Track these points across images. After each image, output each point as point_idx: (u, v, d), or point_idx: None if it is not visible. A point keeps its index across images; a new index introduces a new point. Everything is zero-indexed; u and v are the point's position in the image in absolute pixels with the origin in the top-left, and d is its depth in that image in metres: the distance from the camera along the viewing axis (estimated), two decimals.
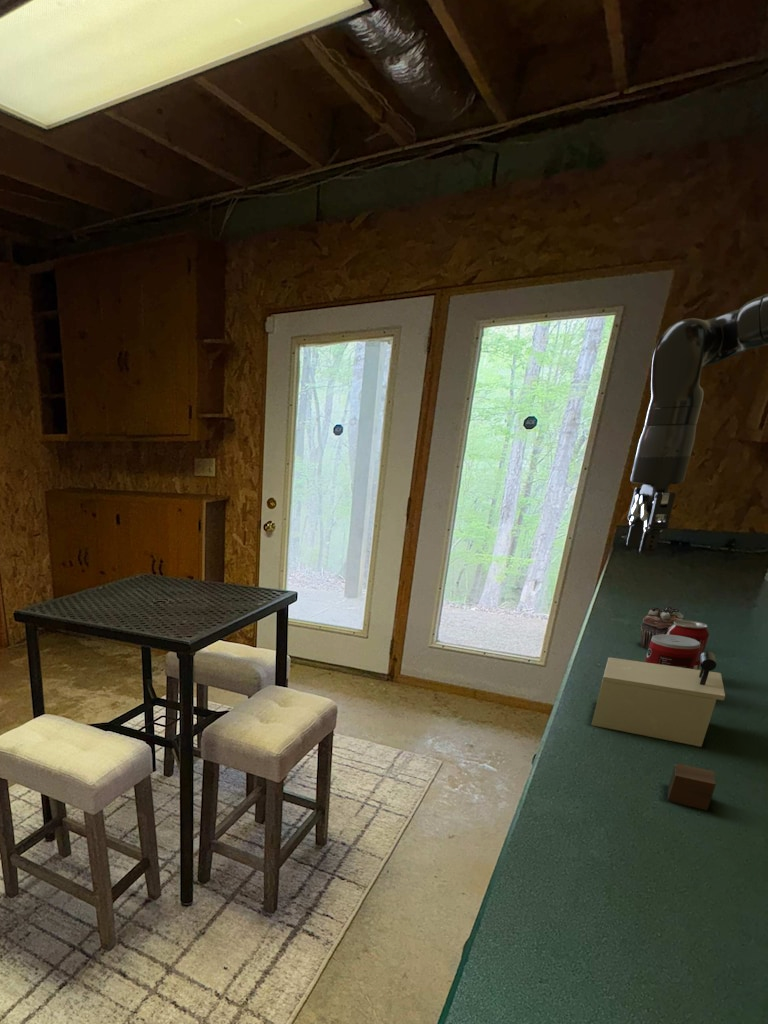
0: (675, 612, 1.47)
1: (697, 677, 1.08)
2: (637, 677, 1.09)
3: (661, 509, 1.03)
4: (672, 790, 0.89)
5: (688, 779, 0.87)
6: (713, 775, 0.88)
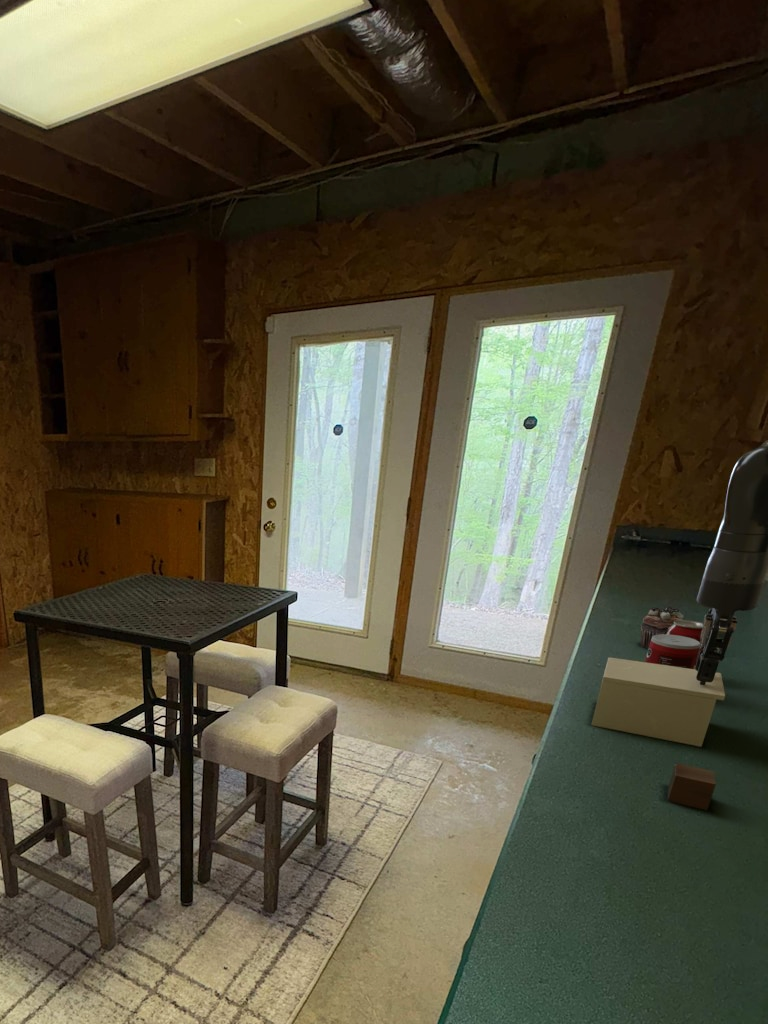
0: (675, 612, 1.47)
1: None
2: (637, 677, 1.09)
3: (716, 643, 0.99)
4: (672, 790, 0.89)
5: (688, 779, 0.87)
6: (713, 775, 0.88)
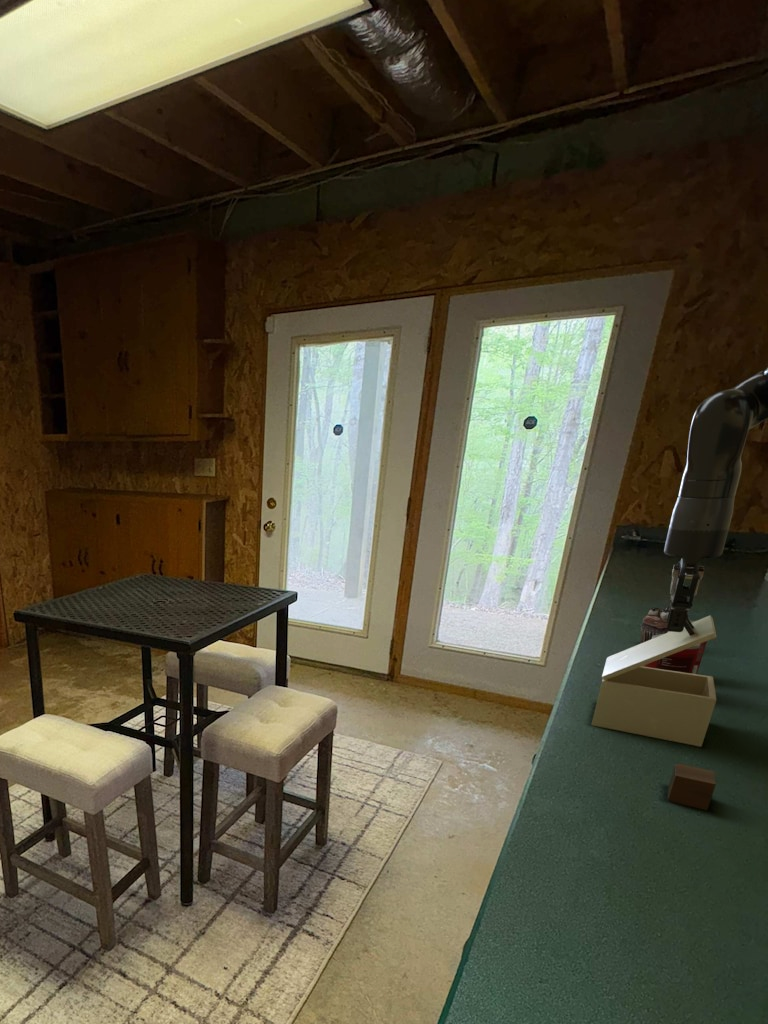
0: None
1: None
2: (632, 661, 1.08)
3: (683, 591, 0.99)
4: (672, 790, 0.89)
5: (688, 779, 0.87)
6: (713, 775, 0.88)
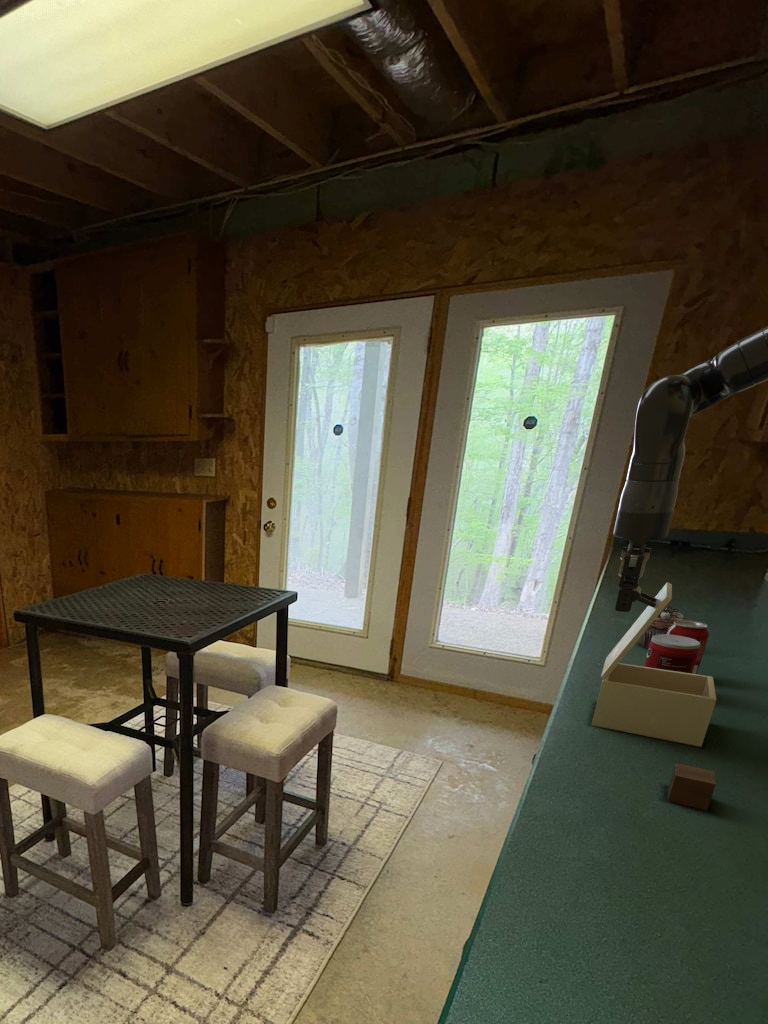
0: (675, 612, 1.47)
1: None
2: (619, 651, 1.09)
3: (629, 571, 1.03)
4: (672, 790, 0.89)
5: (688, 779, 0.87)
6: (713, 775, 0.88)
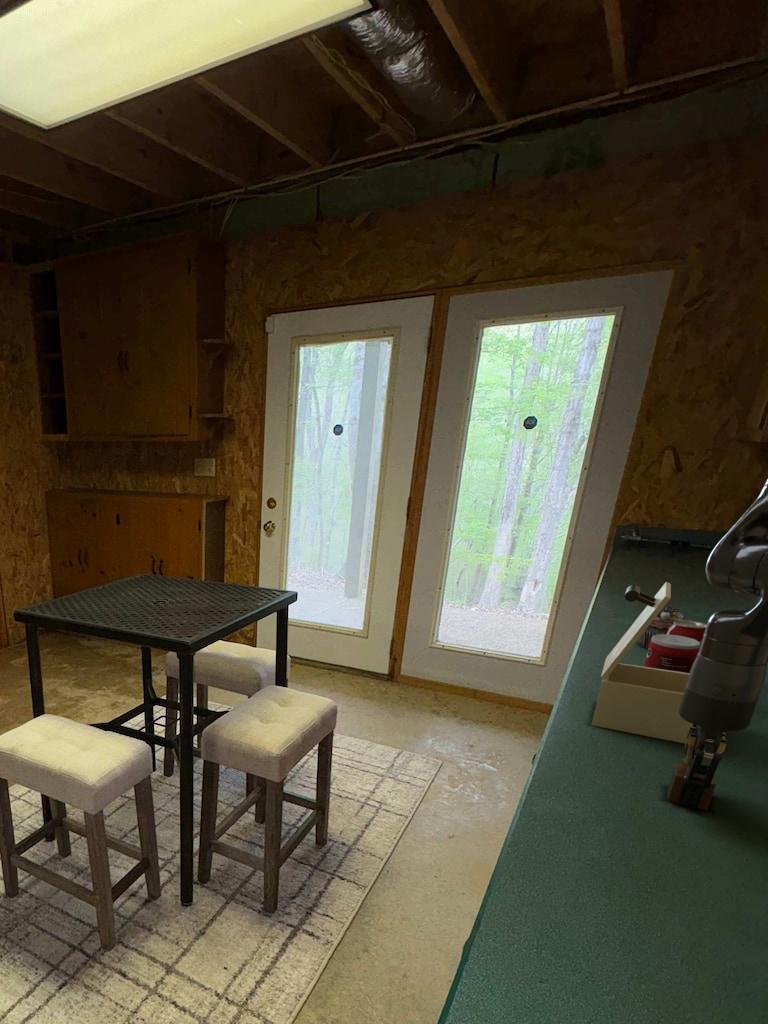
0: (675, 612, 1.47)
1: None
2: (619, 651, 1.09)
3: (701, 770, 0.83)
4: (672, 790, 0.89)
5: None
6: None
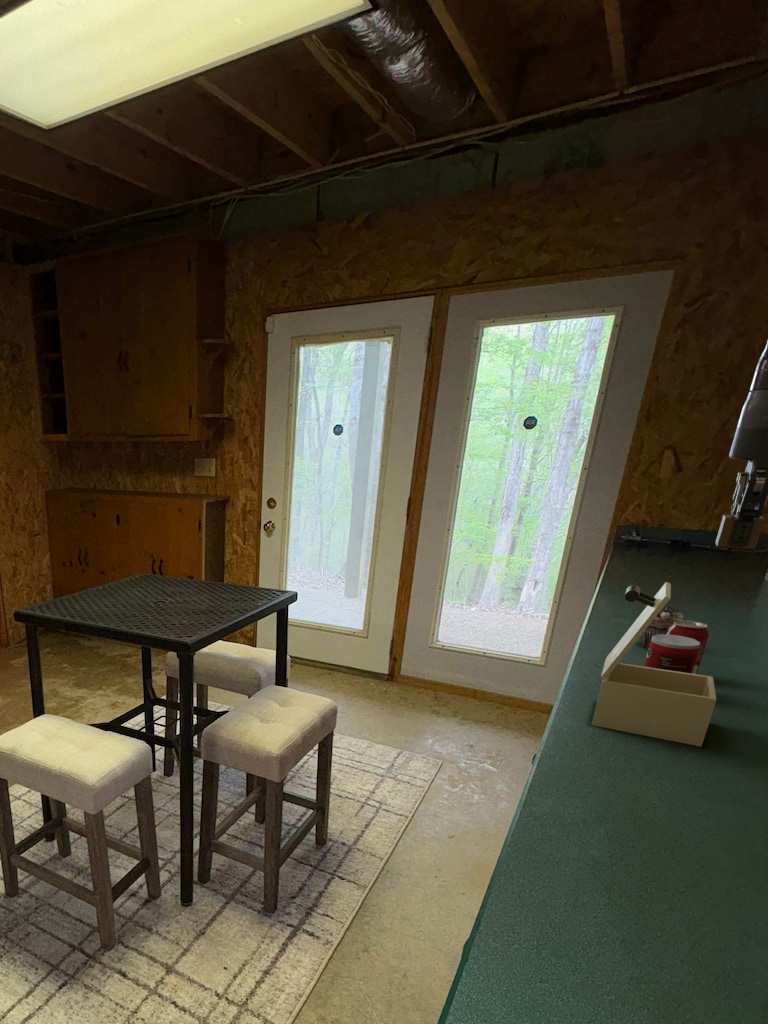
0: (675, 612, 1.47)
1: None
2: (619, 651, 1.09)
3: (753, 497, 0.89)
4: (722, 533, 0.95)
5: None
6: (760, 516, 0.94)
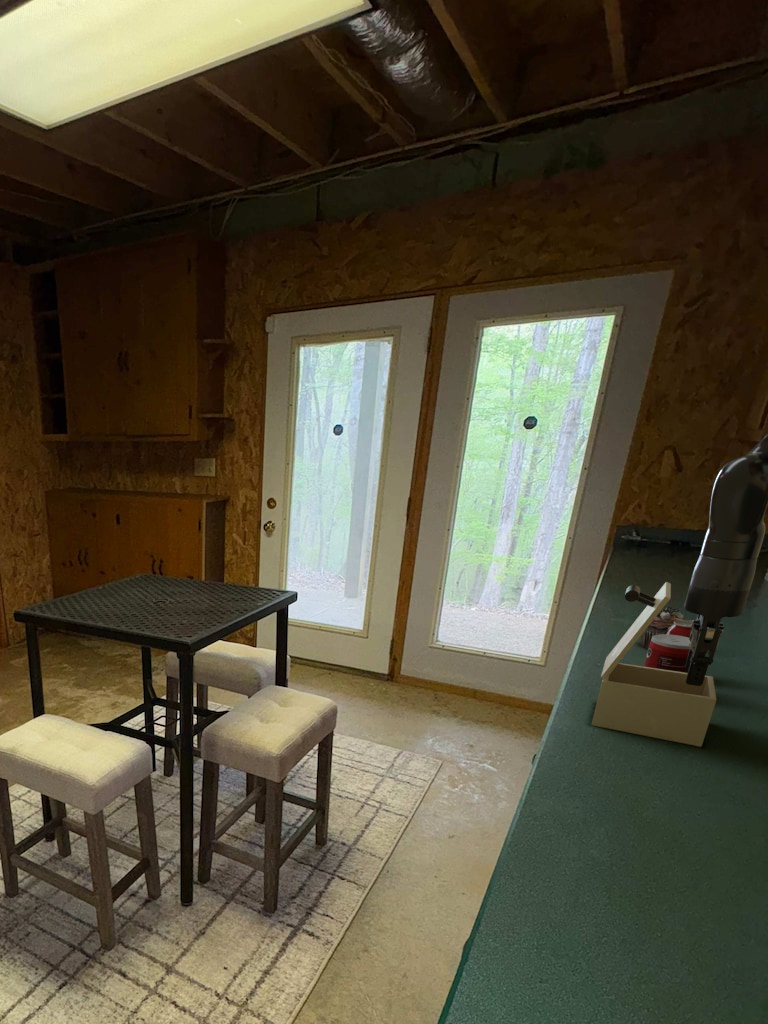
0: (675, 612, 1.47)
1: None
2: (619, 651, 1.09)
3: (705, 644, 0.99)
4: None
5: None
6: None
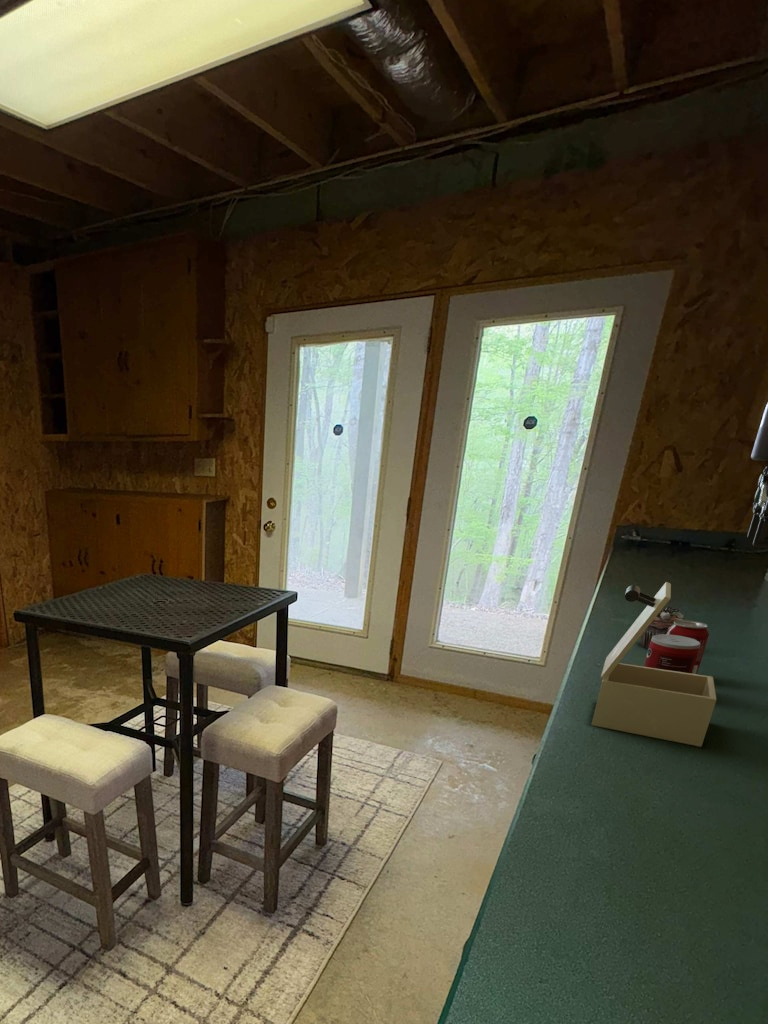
0: (675, 612, 1.47)
1: None
2: (619, 651, 1.09)
3: None
4: None
5: None
6: None
